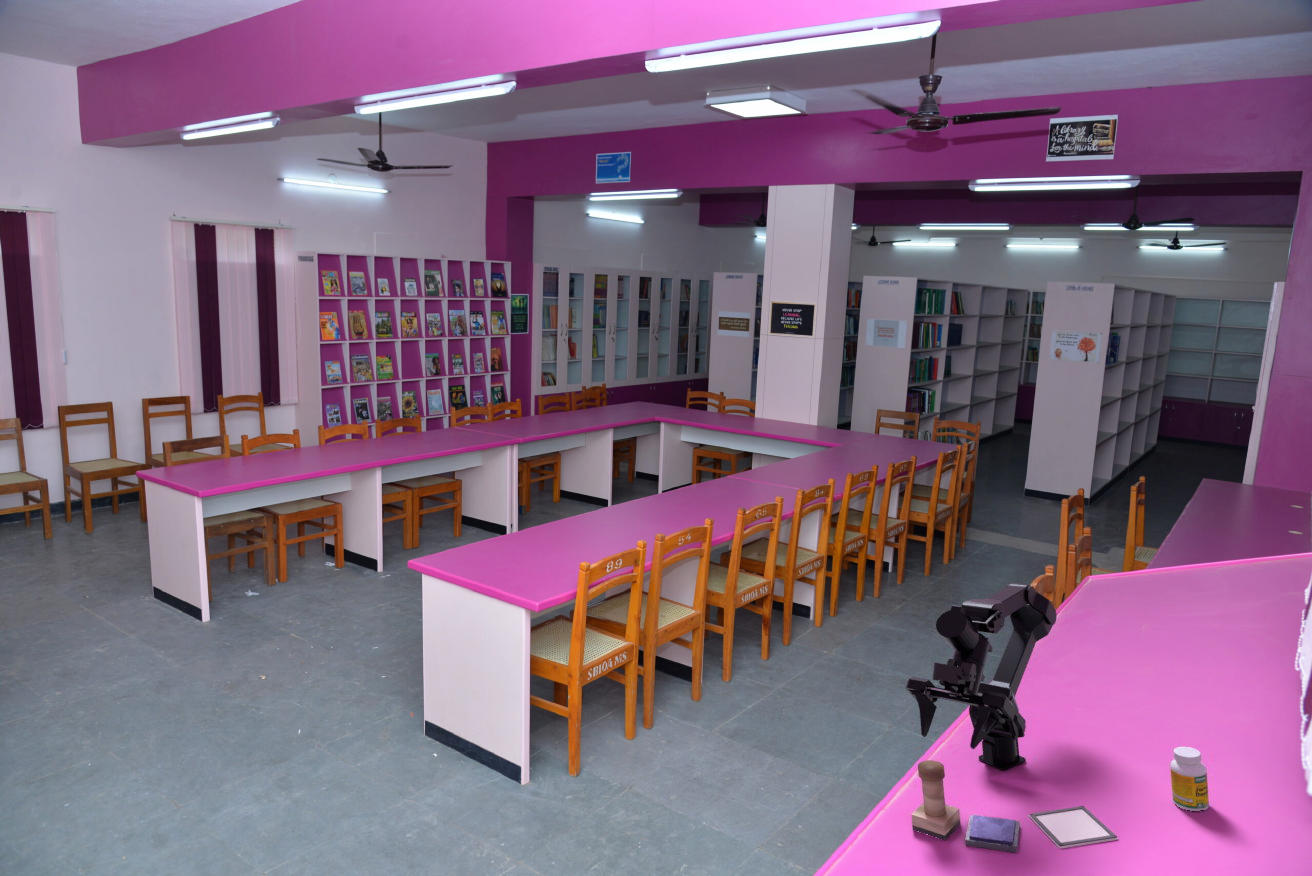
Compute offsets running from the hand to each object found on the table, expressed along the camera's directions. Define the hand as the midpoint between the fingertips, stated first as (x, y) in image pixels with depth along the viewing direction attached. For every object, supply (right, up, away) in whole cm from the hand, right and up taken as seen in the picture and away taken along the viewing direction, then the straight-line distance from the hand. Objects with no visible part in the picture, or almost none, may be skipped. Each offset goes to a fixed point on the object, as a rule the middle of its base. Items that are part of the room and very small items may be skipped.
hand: (947, 742), depth 151 cm
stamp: (-3, -14, -4) cm, 15 cm away
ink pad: (+5, -13, -8) cm, 16 cm away
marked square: (+18, -11, -9) cm, 23 cm away
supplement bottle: (+40, -9, -6) cm, 42 cm away
